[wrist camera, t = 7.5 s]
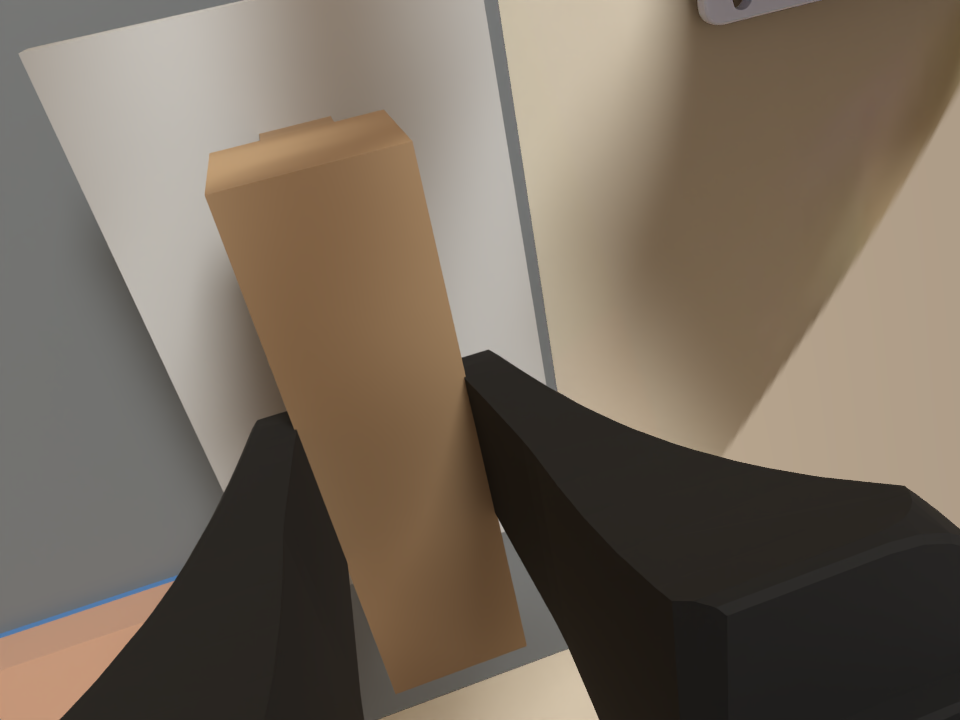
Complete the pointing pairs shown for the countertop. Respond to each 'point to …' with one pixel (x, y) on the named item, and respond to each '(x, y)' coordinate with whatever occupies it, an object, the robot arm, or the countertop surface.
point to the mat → (134, 381)
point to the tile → (68, 652)
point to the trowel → (325, 269)
